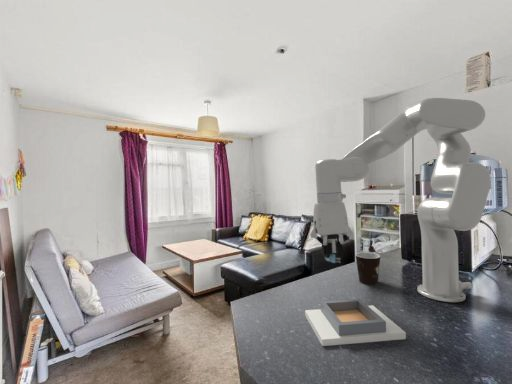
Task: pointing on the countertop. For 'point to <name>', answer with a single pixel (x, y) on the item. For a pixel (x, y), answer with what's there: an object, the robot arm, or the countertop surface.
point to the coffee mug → (368, 267)
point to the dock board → (351, 323)
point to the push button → (332, 249)
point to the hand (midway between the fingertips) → (332, 255)
